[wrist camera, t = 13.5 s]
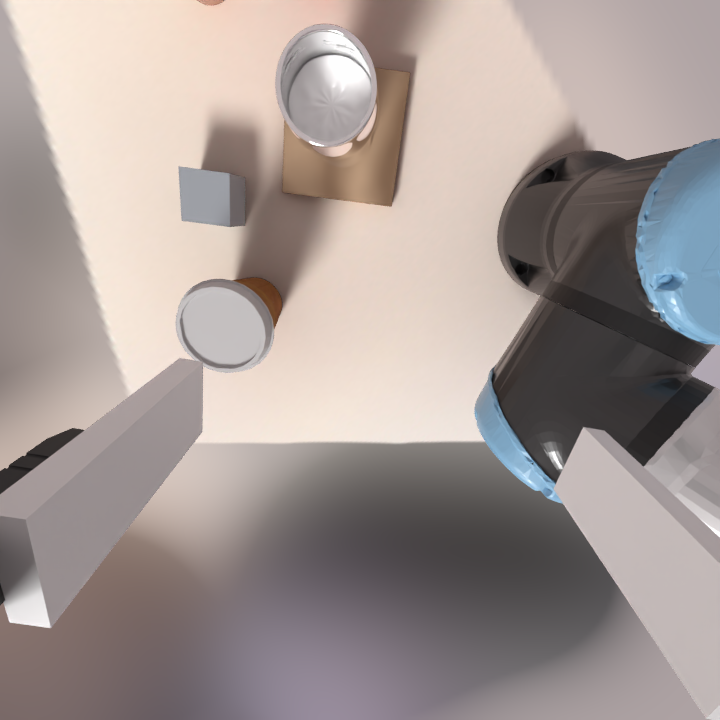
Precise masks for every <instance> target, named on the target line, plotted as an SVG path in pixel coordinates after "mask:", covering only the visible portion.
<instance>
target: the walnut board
mask: <svg viewBox="0 0 720 720" xmlns="http://www.w3.org/2000/svg"><path fill="white" fill-rule="evenodd" d="M374 69H375V73H376V80H377V88H378V97H379V109H378V117H377V121H376V126H375V129H374V132H373V134H372V138H371V144H370V147H369V150H368V152H367V154H366V155H365V157H364V158H363V159H362V160H361V161H360V162H359V163H357V164H356V165H354V166H351V167H348V168H336V167H333V166H331V165H329V164H327V163H326V162H325V161H323V160H322V159H321V158H320V157H317V156H316V155H314V154H312V153H311V152H310V151H308V150H307V149H306V148H305V147H304V146H303V145H302V144H301V143H300V142H299V141H298V140H297V138H296V137H295V136H294V134H293V133H292V131H291V129H290V128H289V126H288V124H287V123H286V121H284V150H283V179H282V192H284V193H290V194H298V195H306V196H313V197H321V198H329V199H337V200H344V201H352V202H360V203H367V204H375V205H383V206H392V200H393V192H394V185H395V178H396V171H397V164H398V157H399V150H400V143H401V135H402V128H403V121H404V114H405V107H406V100H407V93H408V86H409V78H410V72H403V71H396V70H389V69H382V68H374Z"/></svg>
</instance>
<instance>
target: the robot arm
mask: <svg viewBox="0 0 720 720" xmlns="http://www.w3.org/2000/svg"><path fill="white" fill-rule="evenodd" d="M497 242H498V251H499V255H500V258H501V261H502V264H503V266H504V268H505V270H506V271H507V273H508V274H509V275H510V277H511V278H512V279H513V280H514V281H515V282H516V283H518V284H519V285H520V286H522V287H523V288H525V289H527V290H529V291H531V292H533V293H536V294H538V295H541V296H540V298H539V299H538V301H537V302H536V304H535V306H534V307H533V309H532V310H531V312H530V314H529V315H528V317H527V318H526V320H525V322H524V323H523V325H522V326H521V328H520V330H519V331H518V333H517V334H516V336H515V337H514V339H513V340H512V342H511V343H510V345H509V347H508V348H507V350H506V351H505V353H504V354H503V356H502V357H501V359H500V360H499V362H498V363H497V365H496V366H495V367H494V368H492V370H491V371H490V373H489V376H488V381H487V383H486V384H485V386H484V388H483V390H482V391H481V393H480V395H479V397H478V399H477V401H476V404H475V417H476V420H477V426H478V429H479V431H480V433H481V435H482V437H483V438H484V440H485V442H486V443H487V445H488V446H489V448H490V449H491V450H492V452H493V453H494V454H495V455H496V456H497V458H498V459H500V461H501V462H502V463H503V464H504V465H505V466H506V467H507V468H508V469H509V470H510V471H511V472H512V473H513V474H514V475H515V476H516V477H518V478H519V479H520V480H521V481H522V482H524V483H525V484H526V485H528V486H529V487H530V488H532V489H533V490H535V491H538V490H540V491H541V492H542V493H543V494H544V495H545V496H546V497H547V498H549V499H551V500H553V501H556V502H559V503H563V504H564V506H565V507H566V509H567V510H568V511H569V513H570V514H571V516H572V517H573V519H574V521H575V522H576V524H577V525H578V527H579V528H580V530H581V531H582V533H583V534H584V536H585V537H586V538H587V540H588V541H589V543H590V545H591V546H592V548H593V549H594V551H595V552H596V554H597V555H598V557H599V558H600V560H601V561H602V563H603V564H604V566H605V567H606V569H607V570H608V572H609V573H610V575H611V576H612V578H613V579H614V581H615V582H616V584H617V585H618V587H619V588H620V590H621V591H622V593H623V594H624V596H625V597H626V599H627V600H628V602H629V603H630V605H631V606H632V607H633V609H634V611H635V612H636V614H637V615H638V617H639V618H640V620H641V621H642V623H643V624H644V626H645V627H646V629H647V630H648V632H649V633H650V635H651V636H652V638H653V639H654V641H655V642H656V644H657V645H658V647H659V649H660V650H661V652H662V653H663V655H664V656H665V658H666V659H667V661H668V662H669V663H670V665H671V667H672V668H673V670H674V671H675V673H676V674H677V676H678V677H679V679H680V680H681V682H682V683H683V684H684V686H685V688H686V689H687V691H688V692H689V694H690V695H691V696H692V698H693V700H694V701H695V703H696V704H697V706H698V707H699V708H700V710H701V712H702V713H703V715H704V716H705V718H706V719H713V720H720V390H719V389H718V388H715V387H713V386H711V385H709V384H707V383H705V382H703V381H701V380H699V379H696V378H694V377H693V376H692V375H691V373H692V371H693V370H694V369H695V368H694V367H696V366H697V365H698V364H699V363H700V362H701V361H702V359H703V358H704V357H705V356H706V355H707V353H708V352H709V351H710V350H711V349H712V348H713V347H714V346H715V345H720V139H712V140H709V141H704V142H701V143H699V144H695V145H693V146H692V147H687V148H683V149H678V150H673V151H669V152H664V153H660V154H655V155H650V156H646V157H641V158H636V159H631V160H625V159H623V158H621V157H618V156H616V155H613V154H610V153H607V152H602V151H580V152H574V153H570V154H567V155H563V156H560V157H557V158H554V159H552V160H550V161H548V162H545V163H544V164H542V165H540V166H539V167H537V168H536V169H534V170H533V171H532V172H531V173H529V174H528V175H527V176H526V177H525V178H524V179H523V180H522V181H521V182H520V183H519V184H518V186H517V187H516V188H515V189H514V191H513V192H512V194H511V195H510V197H509V199H508V201H507V203H506V205H505V207H504V209H503V212H502V215H501V218H500V222H499V226H498V236H497ZM543 296H544V297H543ZM547 298H548V299H547ZM554 301H555V302H554ZM556 302H557V303H556ZM558 303H559V304H558ZM560 304H561V305H560ZM569 308H570V309H569ZM571 309H572V310H571ZM573 310H574V311H573ZM575 311H576V312H575ZM690 365H691V366H690ZM692 366H693V367H692ZM202 411H203V362H200V361H194V360H188V359H182V358H179V359H178V360H177V361H175V362H174V363H173V364H171V365H170V366H169V367H168V368H166V369H165V370H164V371H162V372H161V373H160V374H158V375H157V376H156V377H154V378H153V379H152V380H150V381H149V382H148V383H146V384H145V385H144V386H142V387H141V388H140V389H138V390H137V391H136V392H135V393H133V394H132V395H131V396H129V397H128V398H127V399H125V400H124V401H123V402H121V403H120V404H119V405H117V406H116V407H115V408H114V409H112V410H111V411H110V412H108V413H107V414H106V415H104V416H103V417H102V418H100V419H99V420H98V421H96V422H95V423H94V424H92V425H91V426H90V427H88V428H87V429H86V430H81V429H75V428H72V429H69V430H67V431H64V432H62V433H60V434H57V435H55V436H53V437H51V438H48V439H46V440H45V441H43V442H42V443H40V444H39V445H37V446H36V447H35V448H33V449H32V450H30V451H29V452H27V454H26V456H22V457H20V458H19V459H17V460H16V461H14V462H13V463H11V464H10V465H9V467H8V468H7V469H6V468H4V469H3V470H1V471H0V605H1V604H2V603H3V602H4V606H5V609H6V612H7V616H8V619H9V622H11V623H18V624H25V625H33V626H40V627H47V628H51V627H52V626H53V625H54V623H55V622H56V621H57V619H58V618H59V617H60V615H61V614H62V613H63V612H64V610H65V609H66V608H67V606H68V605H69V604H70V603H71V601H72V600H73V599H74V597H75V596H76V595H77V594H78V592H79V591H80V590H81V588H82V587H83V586H84V584H85V583H86V582H87V581H88V579H89V578H90V577H91V575H92V574H93V573H94V571H95V570H96V569H97V568H98V566H99V565H100V564H101V562H102V561H103V560H104V558H105V557H106V556H107V555H108V553H109V552H110V550H111V549H112V548H113V547H114V546H115V544H116V543H117V542H118V540H119V539H120V538H121V536H122V535H123V534H124V533H125V531H126V530H127V529H128V527H129V526H130V525H131V523H132V522H133V521H134V519H135V518H136V517H137V516H138V514H139V513H140V512H141V511H142V509H143V508H144V506H145V505H146V504H147V503H148V501H149V500H150V499H151V497H152V496H153V495H154V494H155V492H156V491H157V490H158V488H159V487H160V486H161V485H162V483H163V482H164V481H165V479H166V478H167V477H168V475H169V474H170V473H171V471H172V470H173V469H174V468H175V466H176V465H177V464H178V463H179V461H180V460H181V459H182V457H183V456H184V455H185V453H186V452H187V451H188V450H189V448H190V447H191V446H192V444H193V443H194V442H195V440H196V439H197V438H198V437H199V435H200V434H201V433H202Z"/></svg>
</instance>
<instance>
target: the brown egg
mask: <svg viewBox="0 0 720 720" xmlns="http://www.w3.org/2000/svg"><path fill="white" fill-rule="evenodd" d="M197 1H199V2H200V3H202V4H205V5H217V4H220V3H222V2H223V1H224V0H197Z"/></svg>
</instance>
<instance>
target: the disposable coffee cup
mask: <svg viewBox="0 0 720 720" xmlns="http://www.w3.org/2000/svg"><path fill="white" fill-rule="evenodd" d="M281 310H282V301H281V297H280V294H279V292H278V290H277V289H276V288H275V287H274V286H273V285H272V284H271V283H270V282H268V281H266V280H264V279H261V278H247V279H239V280H225V279H211V280H207V281H203V282H201V283H199V284H197V285H195V286H193V287H192V288H191V289H190V290H189V291H188V292H186V294H185V295H184V297H183V298H182V300H181V302H180V305H179V307H178V312H177V315H176V331H177V335H178V338H179V341H180V343H181V345H182V346H183V348H184V350H185V351H186V352H187V353H188V354H189V355H190V356H191V357H192V358H193V359H194V360H195V361H200V362H203V366H204V367H206V368H208V369H210V370H214V371H218V372H225V373H231V372H239V371H244V370H248V369H251V368H252V367H254V366H256V365H257V364H259V363H260V362H261V361H262V360H263V359H264V358H265V357H266V356H267V354H268V353H269V351H270V349H271V346H272V344H273V339H274V329H275V326H276V324H277V321H278V318H279V315H280V313H281Z"/></svg>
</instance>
